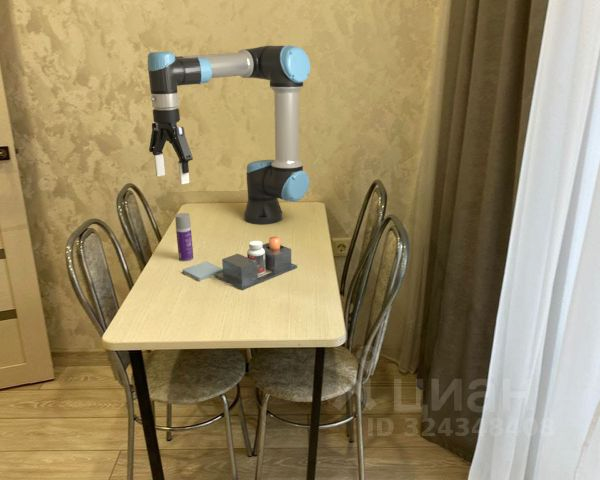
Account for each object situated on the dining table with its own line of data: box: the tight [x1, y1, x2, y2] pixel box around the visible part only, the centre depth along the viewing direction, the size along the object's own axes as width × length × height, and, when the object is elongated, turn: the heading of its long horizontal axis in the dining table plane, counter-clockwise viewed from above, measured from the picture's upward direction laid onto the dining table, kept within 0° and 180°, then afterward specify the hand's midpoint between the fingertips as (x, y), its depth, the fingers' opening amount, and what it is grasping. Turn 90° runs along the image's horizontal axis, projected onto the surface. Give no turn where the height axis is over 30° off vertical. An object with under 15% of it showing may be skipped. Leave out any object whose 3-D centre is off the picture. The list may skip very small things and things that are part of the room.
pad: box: [182, 260, 223, 282], centre depth 168 cm, size 9×9×1 cm
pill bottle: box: [246, 240, 267, 276], centre depth 166 cm, size 5×5×10 cm
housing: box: [214, 242, 298, 291], centre depth 166 cm, size 22×13×6 cm, turn 135°
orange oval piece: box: [268, 236, 281, 251], centre depth 170 cm, size 3×3×5 cm
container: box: [174, 212, 194, 262], centre depth 175 cm, size 5×5×15 cm
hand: (172, 179), depth 165 cm, fingers open, 13 cm apart
